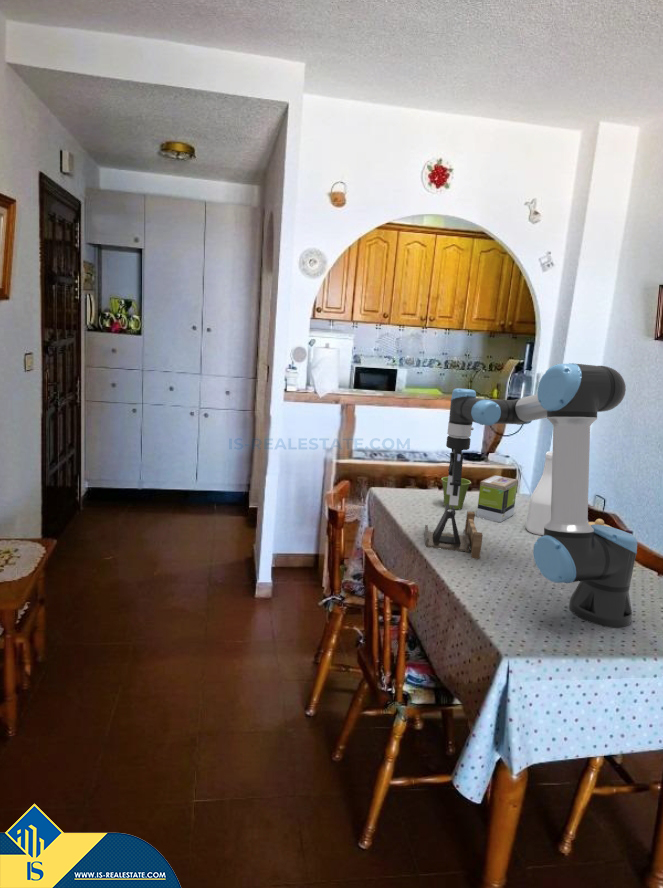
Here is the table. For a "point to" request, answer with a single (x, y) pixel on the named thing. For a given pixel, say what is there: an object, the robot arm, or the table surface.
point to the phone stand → (441, 525)
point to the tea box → (497, 498)
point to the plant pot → (462, 492)
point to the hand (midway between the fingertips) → (451, 499)
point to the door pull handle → (473, 536)
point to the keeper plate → (462, 547)
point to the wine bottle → (541, 500)
